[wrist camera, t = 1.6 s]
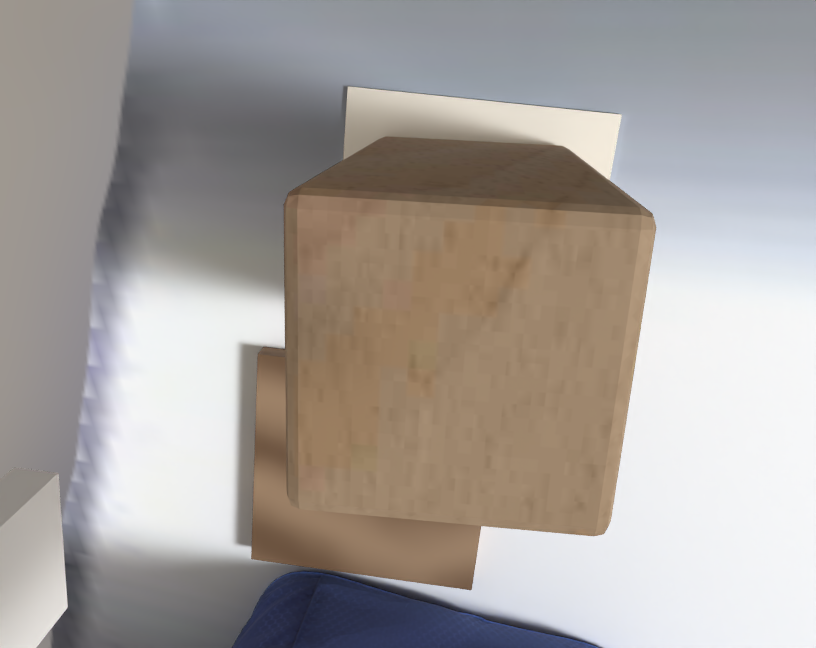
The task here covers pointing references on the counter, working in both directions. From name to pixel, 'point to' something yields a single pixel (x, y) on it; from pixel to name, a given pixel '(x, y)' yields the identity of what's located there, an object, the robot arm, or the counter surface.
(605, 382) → the wooden block
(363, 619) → the lunch bag
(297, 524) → the board
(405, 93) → the tile
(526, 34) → the counter surface
